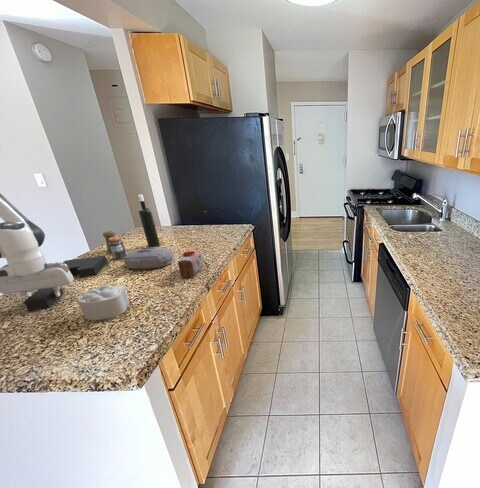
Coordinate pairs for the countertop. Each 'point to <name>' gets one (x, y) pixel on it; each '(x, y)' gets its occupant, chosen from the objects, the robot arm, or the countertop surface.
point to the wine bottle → (148, 224)
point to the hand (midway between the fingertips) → (45, 298)
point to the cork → (108, 235)
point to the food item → (190, 263)
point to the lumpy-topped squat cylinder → (104, 302)
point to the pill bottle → (117, 248)
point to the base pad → (86, 266)
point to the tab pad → (42, 299)
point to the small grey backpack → (148, 258)
